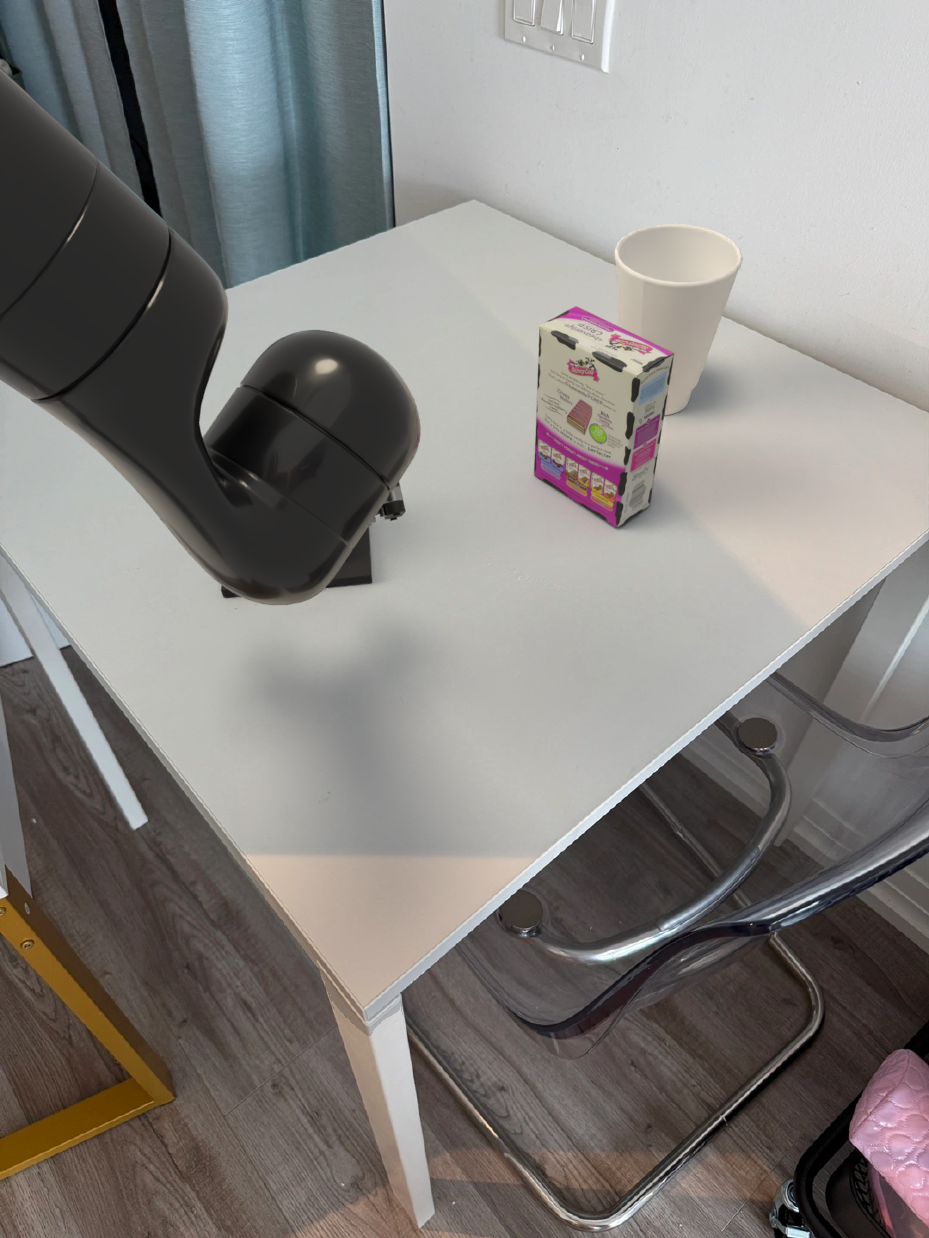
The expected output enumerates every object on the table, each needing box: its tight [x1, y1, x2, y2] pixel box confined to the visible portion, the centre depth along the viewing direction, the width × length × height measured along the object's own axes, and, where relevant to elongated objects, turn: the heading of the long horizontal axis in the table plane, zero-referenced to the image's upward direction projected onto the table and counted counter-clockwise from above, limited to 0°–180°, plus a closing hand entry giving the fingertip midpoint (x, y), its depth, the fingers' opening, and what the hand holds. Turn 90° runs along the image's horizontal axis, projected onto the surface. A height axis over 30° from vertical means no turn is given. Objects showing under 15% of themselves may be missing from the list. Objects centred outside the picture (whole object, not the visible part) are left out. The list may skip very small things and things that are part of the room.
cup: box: [614, 223, 744, 416], centre depth 91 cm, size 12×12×16 cm
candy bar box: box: [533, 305, 675, 528], centre depth 81 cm, size 11×5×16 cm, turn 43°
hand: (297, 525), depth 67 cm, fingers open, 8 cm apart
